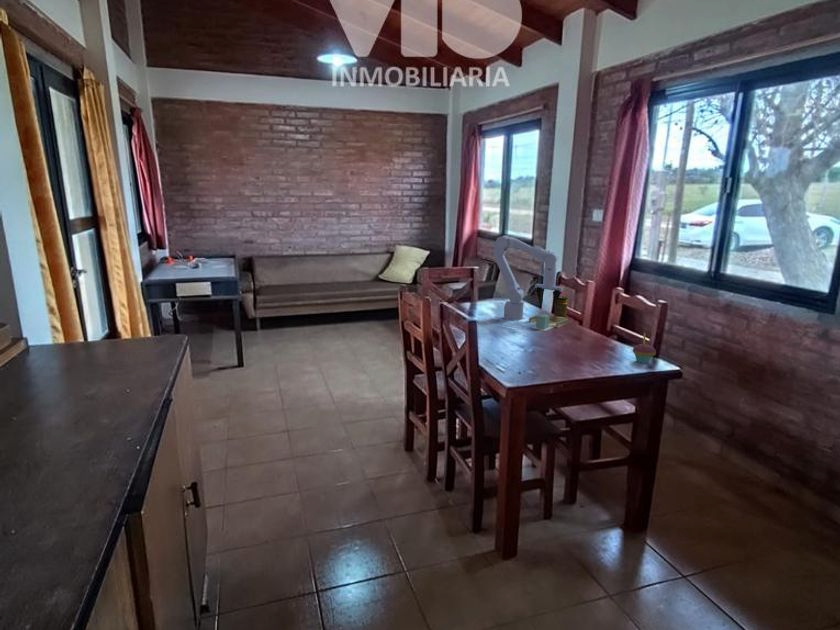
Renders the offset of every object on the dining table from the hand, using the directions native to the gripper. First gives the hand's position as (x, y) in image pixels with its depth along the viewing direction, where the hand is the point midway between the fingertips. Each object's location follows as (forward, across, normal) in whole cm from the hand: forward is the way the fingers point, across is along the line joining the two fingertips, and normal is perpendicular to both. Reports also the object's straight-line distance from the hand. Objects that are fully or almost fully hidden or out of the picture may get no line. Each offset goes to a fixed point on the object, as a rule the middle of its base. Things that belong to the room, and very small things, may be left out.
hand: (547, 303), depth 261 cm
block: (+9, -4, +12) cm, 16 cm away
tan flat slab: (+10, -2, +1) cm, 10 cm away
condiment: (+10, -2, -10) cm, 14 cm away
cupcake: (+10, -57, +28) cm, 65 cm away
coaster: (+10, -4, +12) cm, 16 cm away
